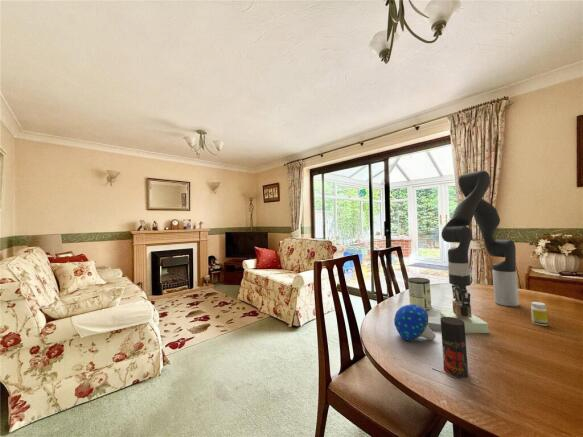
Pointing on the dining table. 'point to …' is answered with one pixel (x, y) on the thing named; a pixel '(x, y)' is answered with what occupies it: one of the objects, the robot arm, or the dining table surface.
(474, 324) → the sage block
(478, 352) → the dining table surface
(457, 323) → the deodorant
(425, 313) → the mushroom
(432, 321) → the slate block
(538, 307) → the supplement bottle
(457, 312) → the walnut cube
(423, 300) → the coffee can
